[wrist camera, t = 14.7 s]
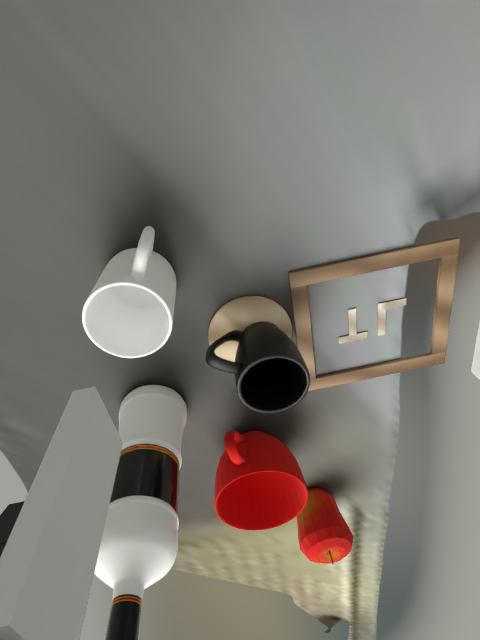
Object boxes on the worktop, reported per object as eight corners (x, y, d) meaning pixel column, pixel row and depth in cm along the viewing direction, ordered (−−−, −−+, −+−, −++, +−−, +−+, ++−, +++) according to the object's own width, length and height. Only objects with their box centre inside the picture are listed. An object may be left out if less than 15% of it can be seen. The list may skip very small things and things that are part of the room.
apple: (282, 507, 69) (296, 577, 58) (301, 477, 65) (321, 546, 55) (322, 513, 71) (344, 582, 61) (344, 485, 67) (370, 552, 57)
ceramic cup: (265, 385, 54) (278, 438, 45) (303, 455, 62) (320, 511, 54) (185, 418, 56) (183, 475, 47) (232, 482, 64) (238, 541, 55)
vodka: (189, 382, 52) (181, 653, 26) (185, 430, 57) (175, 702, 31) (120, 379, 51) (41, 662, 25) (121, 429, 55) (56, 713, 30)
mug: (221, 290, 45) (227, 331, 37) (303, 326, 49) (325, 370, 41) (193, 342, 48) (192, 390, 40) (272, 372, 52) (286, 422, 44)
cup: (100, 302, 45) (77, 349, 36) (114, 204, 40) (91, 232, 31) (169, 316, 47) (162, 365, 38) (191, 225, 42) (190, 256, 33)
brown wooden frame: (288, 272, 46) (289, 273, 45) (457, 237, 46) (460, 238, 45) (302, 389, 55) (303, 392, 55) (442, 361, 55) (444, 363, 55)
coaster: (199, 305, 47) (199, 307, 46) (286, 287, 47) (287, 289, 46) (217, 373, 52) (217, 376, 52) (295, 358, 52) (296, 360, 52)
